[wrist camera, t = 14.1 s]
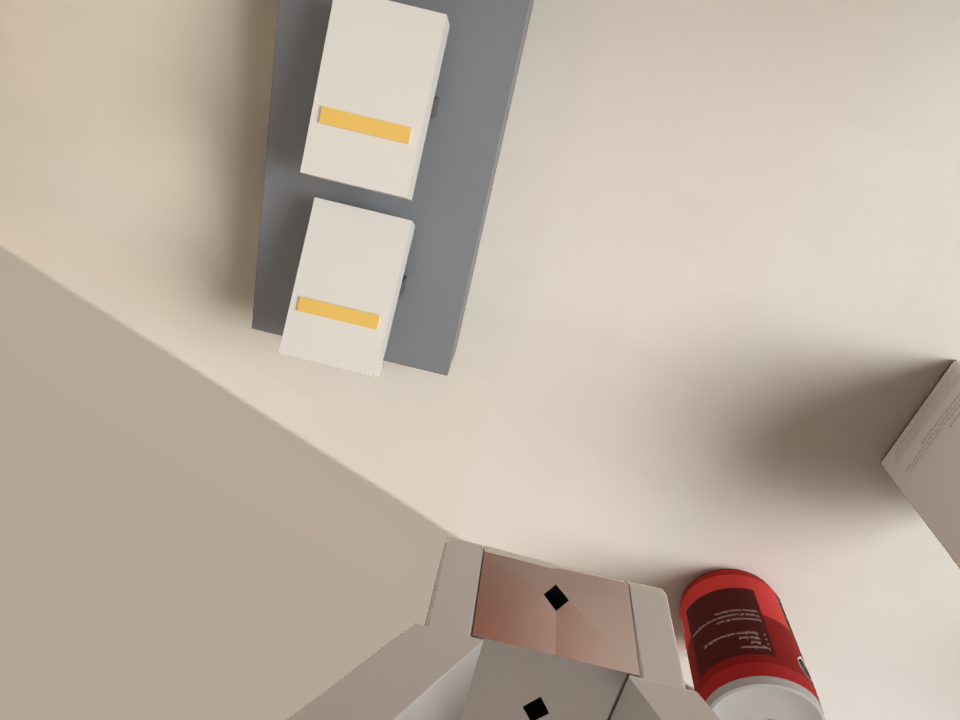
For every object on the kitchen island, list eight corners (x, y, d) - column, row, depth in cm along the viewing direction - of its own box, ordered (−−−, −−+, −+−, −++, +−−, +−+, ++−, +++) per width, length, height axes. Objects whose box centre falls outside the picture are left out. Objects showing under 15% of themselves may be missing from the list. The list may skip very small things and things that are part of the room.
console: (325, -273, 36) (286, -325, 30) (580, -211, 36) (584, -253, 30) (271, 306, 49) (237, 336, 44) (455, 350, 49) (443, 386, 44)
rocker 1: (343, 0, 36) (334, -14, 34) (449, 26, 36) (446, 13, 34) (309, 175, 38) (299, 171, 36) (411, 200, 38) (406, 197, 36)
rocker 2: (322, 203, 41) (314, 196, 39) (415, 225, 41) (411, 220, 39) (287, 352, 42) (277, 353, 40) (379, 374, 42) (374, 376, 40)
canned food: (745, 654, 58) (784, 782, 48) (658, 618, 57) (679, 740, 47) (800, 590, 55) (854, 714, 45) (709, 551, 54) (742, 667, 44)
